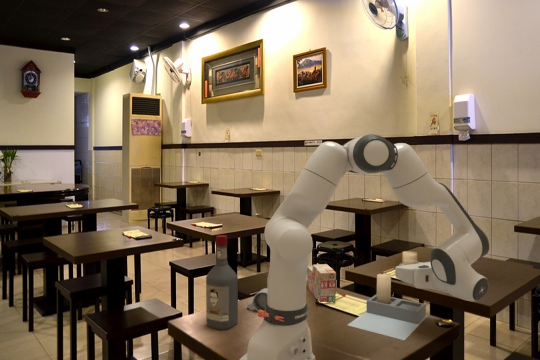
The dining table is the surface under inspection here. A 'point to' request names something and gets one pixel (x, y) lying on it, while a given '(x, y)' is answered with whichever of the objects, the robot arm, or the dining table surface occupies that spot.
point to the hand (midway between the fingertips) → (407, 264)
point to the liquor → (221, 290)
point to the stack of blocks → (322, 282)
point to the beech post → (409, 258)
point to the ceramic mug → (259, 300)
